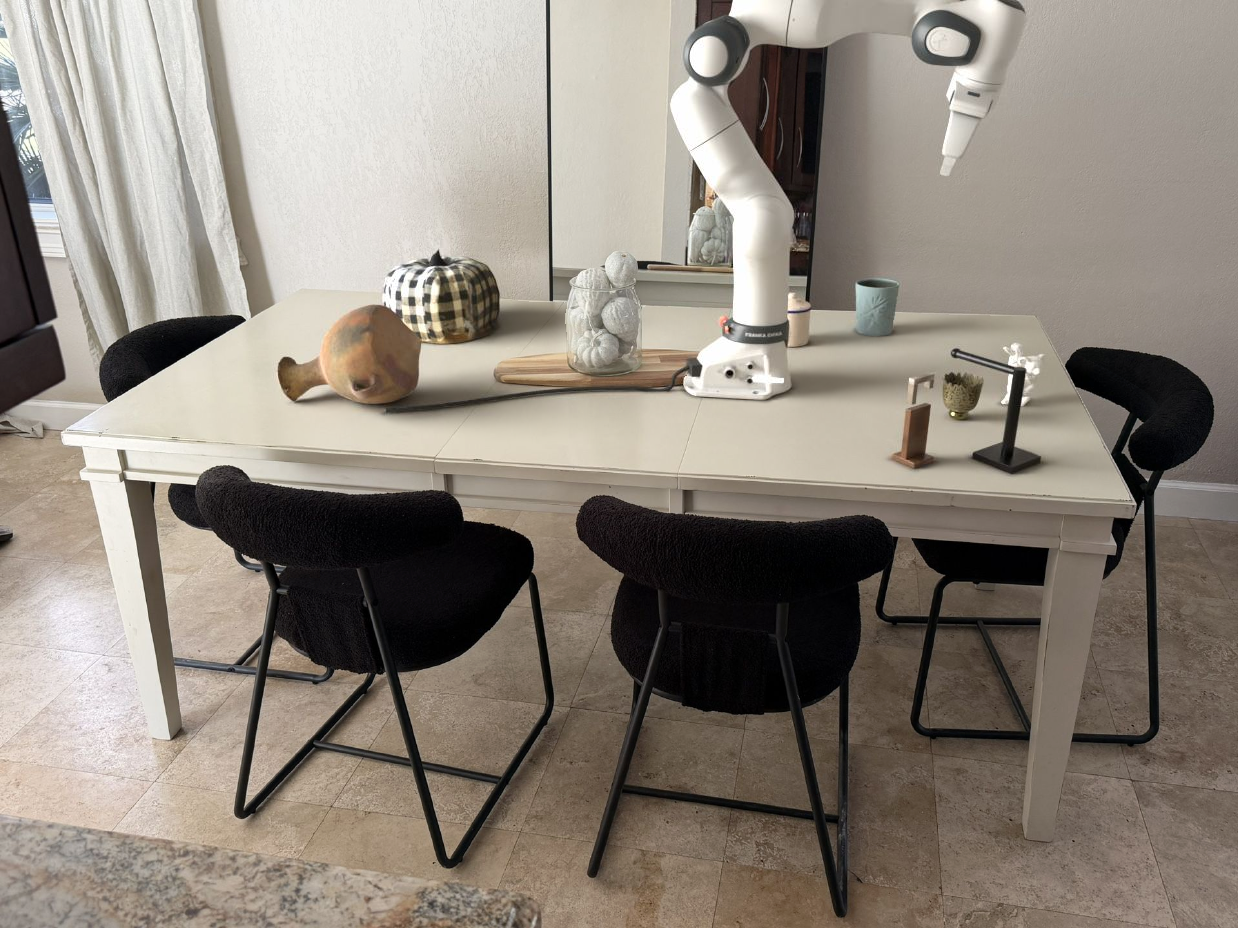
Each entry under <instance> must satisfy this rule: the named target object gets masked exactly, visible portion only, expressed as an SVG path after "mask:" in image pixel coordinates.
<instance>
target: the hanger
mask: <svg viewBox="0 0 1238 928" xmlns="http://www.w3.org/2000/svg"><path fill="white" fill-rule="evenodd" d="M919 384H923V388H926V389H928V390H930V389H933V388H934V386H935V385H934V384H935V373H933V372H930V371H929V372H925V373H921V374H918V375H914V376H911V377H909V378H908V385H907V393H906V394H907V395H906V404H907V405H911V407H910V406H909V407H907V408H905V414H904V422H903V432H902V442H901V450H900V451H897V452H895V453H892V454H891V460H893V461H895V462H897V463H899V464H902V465H904V466H906V467H909V468H911V469H917V468H920V467H923V466H926V465H928V464H931V463H933V462H934V460H935V456H933V455H931V454H928V453H926V450H927V443H928V434H929V426H930V416H931V409H932V404H931V403H928V402H924V403H921V404H917V397H918V388H919ZM913 405H914V406H913Z"/></svg>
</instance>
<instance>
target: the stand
mask: <svg viewBox="0 0 1238 928" xmlns="http://www.w3.org/2000/svg"><path fill="white" fill-rule="evenodd" d="M950 356H951V358H953V359H955V360H956V359H959V360H962V361H966V362H968V363H972V364H976V365H979V366H981V367H985V368H989V369H991V370H995V371H998V372H1002V373H1004V374H1007V375H1010V374H1011V375H1013V377H1012V384H1011V390H1010V397H1009V403H1008V404H1007V411H1006V418H1005V424H1004V430H1003V437H1002V441H1000V442H997V443H995V444H992V445H989V446H987V447H984V448H980V449H978V450H974V451H973V452H972V456H971V459H972V460H975V461H978V462H980V463H982V464H985V465H988V466H990V467H992V468H995V469H998V470H1000V471H1002V472H1004V473H1008V474H1011V475H1013V474H1014V473H1017V472H1020V471H1022V470H1025V469H1027V468H1030V467H1032V466H1035V465H1038V464H1040V463H1041V460H1042V456H1041V455H1038V454H1037V453H1034V452H1031V451H1028V450H1025V449H1023V448H1020V447H1018V446H1015V445H1016V439H1017V433H1018V427H1019V420H1020V415H1021V408H1022V406H1021V402H1022V396H1024V395H1023V389H1024V383H1025V377H1026V370H1027V369H1026V368H1023V367H1014V366H1011V365H1009V364H1007V363H1003V362H1001V361H997V360H993V359H990V358H987V357H984V356H980V355H977V354H974V353H970V352H968V351H964V350H961V348H958V347H955V348H953V349H951V352H950Z"/></svg>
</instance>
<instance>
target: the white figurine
mask: <svg viewBox="0 0 1238 928" xmlns="http://www.w3.org/2000/svg"><path fill="white" fill-rule="evenodd" d="M1003 350H1004V351H1005V353H1007V354H1008V355H1009V358H1008V362H1007V363H1008V364H1007V365H1011V366H1014V367H1023V368H1026V369H1027V370H1026V377H1025V383H1024V389H1023V396H1022V402H1021V407H1024V406H1025V405H1026V404H1027V403H1028V402H1030V400H1031V398H1030V397H1029V396H1026V395H1028V394H1030V393H1032V392H1034V391H1035V390H1036V388H1037V383H1036V381H1037V377H1038V375H1041V373H1042V371H1041V369H1042V367H1043V363H1044V360H1045V357H1046V354H1045V353H1040V354H1038V355H1028V356H1023V345H1022V344H1021V343H1019V342H1014V343H1012V344H1011V346H1010V348H1009V347H1008V346H1003ZM1012 377H1013V375H1011V374H1008V379H1007V385H1006V391H1007V393H1006V395H1005V396H1004V398H1002V400H1001V402H1000V404H1002V405H1008V403H1009V397H1010V390H1011V384H1012Z"/></svg>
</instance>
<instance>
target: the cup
mask: <svg viewBox="0 0 1238 928" xmlns="http://www.w3.org/2000/svg"><path fill="white" fill-rule="evenodd" d="M941 378H942V389H941V390H942V402H943V405H944V406H945V408H946V409H948V416H949V417H950V418H951V419H952V420H956V421H963V420H966V419H967V418H968V417H969V415H970V413H969V412H971V411H973V410H974V409H975V408H976V407H977V405H978V403H979V401H980V398H981V397H980V396H981V394H982V389H983V385H984V381H985V380H984V377H979V374H977V375H976V376H975V377H974V375H973V373H969V374H968V372H965V373H964V374H962V373H961V372H960V371H959V372H957V373H954V372H953V371H950V372H949V373H944V377H941Z"/></svg>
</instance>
